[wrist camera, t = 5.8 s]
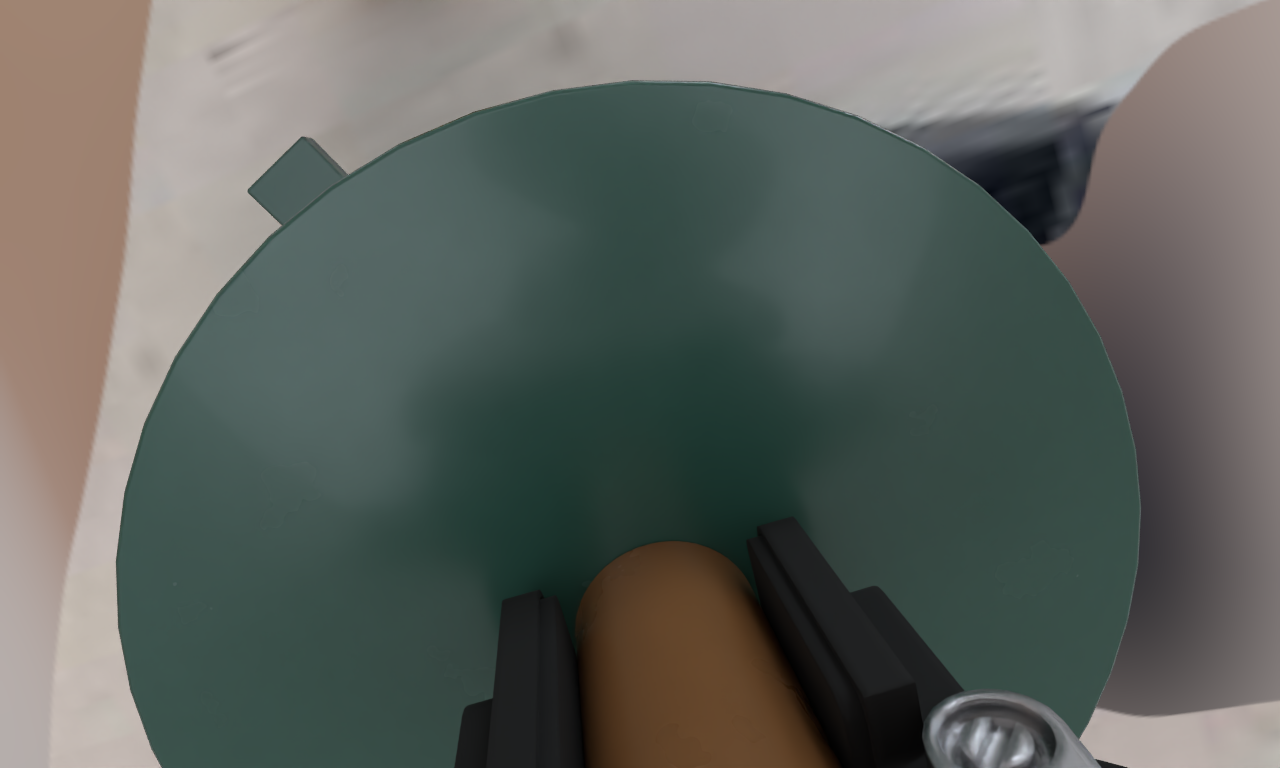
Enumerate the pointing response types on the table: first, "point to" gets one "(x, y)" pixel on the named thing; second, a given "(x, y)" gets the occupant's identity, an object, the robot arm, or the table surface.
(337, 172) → the pot
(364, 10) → the table surface
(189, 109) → the table surface
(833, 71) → the table surface
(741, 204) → the lid
